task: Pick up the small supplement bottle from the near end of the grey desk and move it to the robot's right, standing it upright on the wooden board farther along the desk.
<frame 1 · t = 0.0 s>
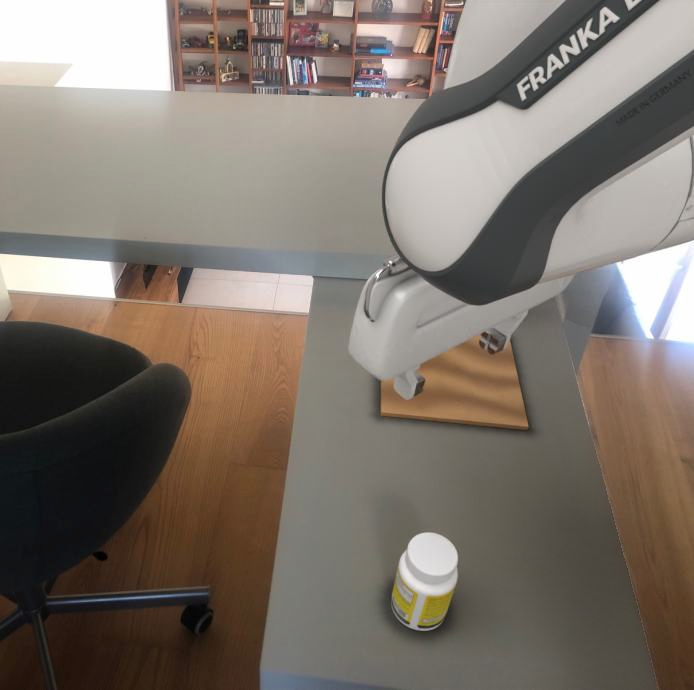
hand: (451, 369, 56), 20 cm above the table, tool pointing down, fingers open, 8 cm apart
milk carton: (446, 305, 94), on the table
supplement bottle: (417, 607, 61), on the table
wooden board: (447, 374, 83), on the table
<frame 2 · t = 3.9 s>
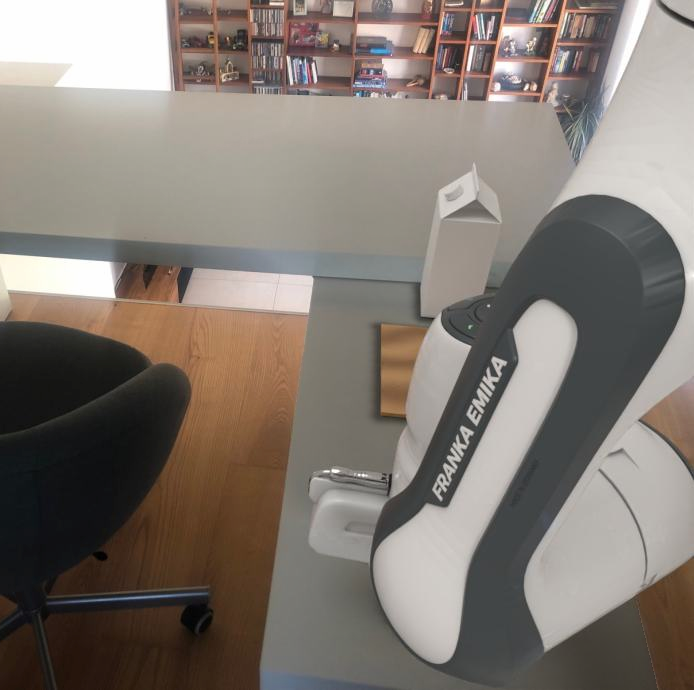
hand: (423, 588, 59), 3 cm above the table, tool pointing down, fingers closed on supplement bottle, 5 cm apart
supplement bottle: (417, 607, 61), on the table, touching gripper
everything else where it was.
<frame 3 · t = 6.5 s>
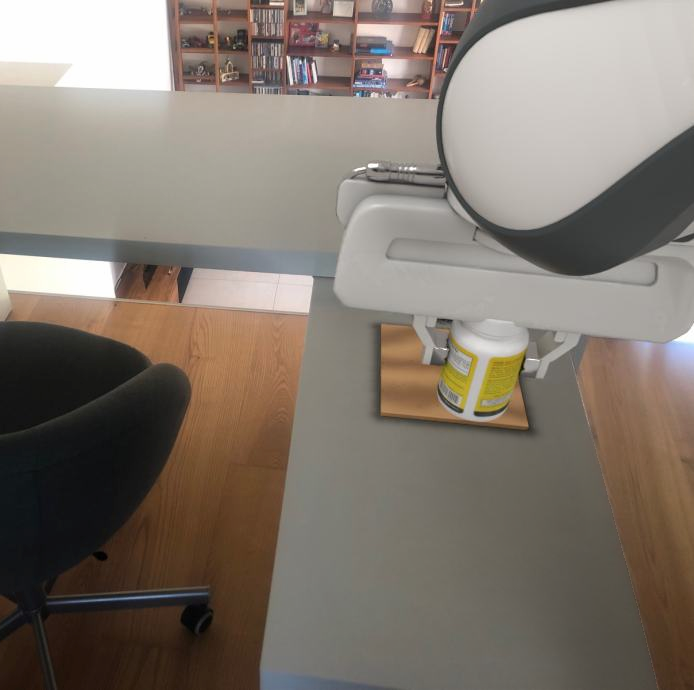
hand: (481, 365, 46), 26 cm above the table, tool pointing down, fingers closed on supplement bottle, 5 cm apart
supplement bottle: (470, 400, 48), point 23 cm above the table, touching gripper
everything else where it was.
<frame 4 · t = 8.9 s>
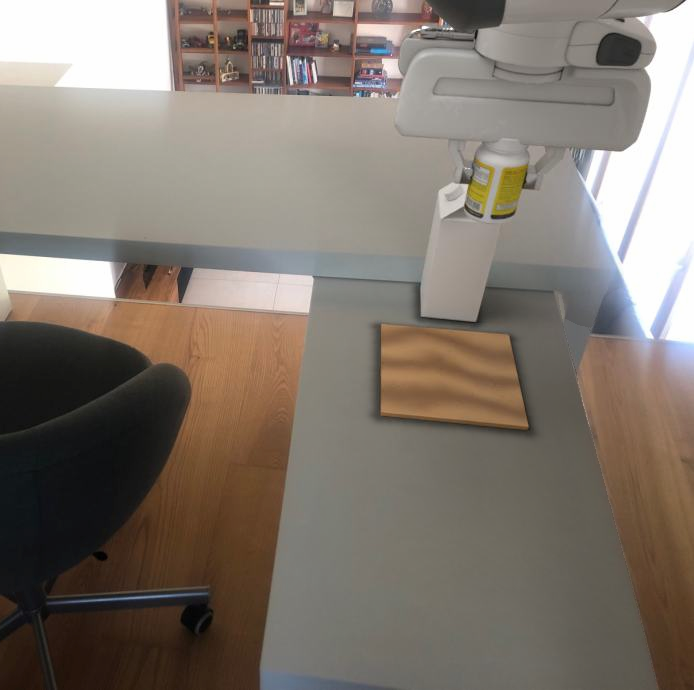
hand: (495, 184, 65), 26 cm above the table, tool pointing down, fingers closed on supplement bottle, 5 cm apart
supplement bottle: (487, 215, 67), point 23 cm above the table, touching gripper
everything else where it was.
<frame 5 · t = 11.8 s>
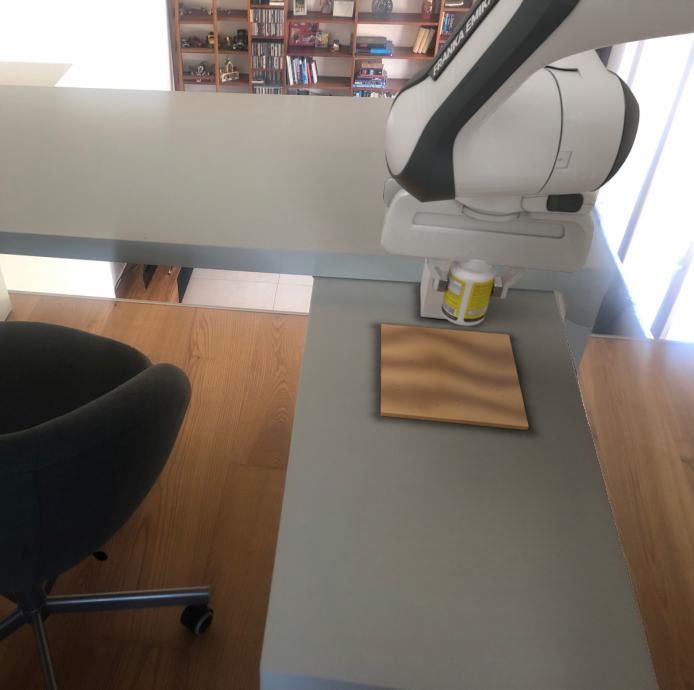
hand: (468, 291, 75), 12 cm above the table, tool pointing down, fingers closed on supplement bottle, 5 cm apart
supplement bottle: (461, 315, 78), point 9 cm above the table, touching gripper
everything else where it was.
when the fingers open (4 cm above the table, at t = 14.2 s): supplement bottle stays where it is, resting on wooden board.
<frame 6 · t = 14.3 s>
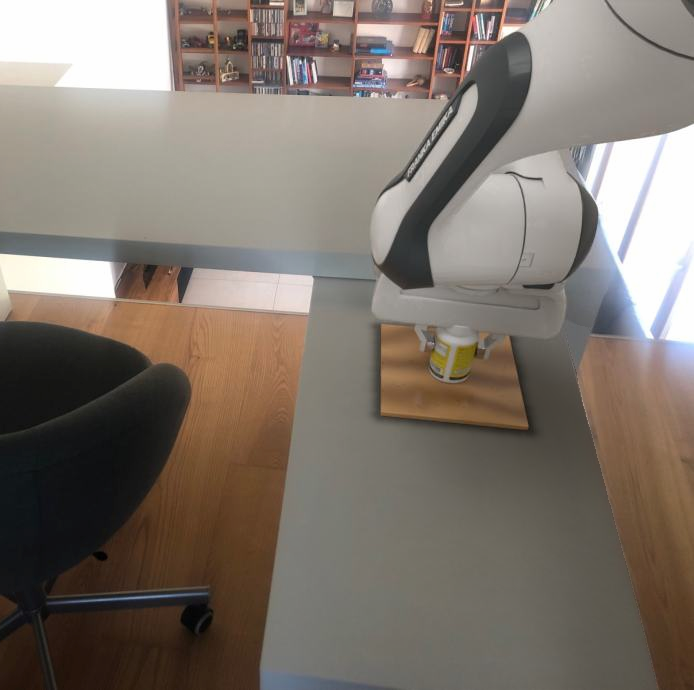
hand: (452, 352, 81), 4 cm above the table, tool pointing down, fingers open, 5 cm apart
supplement bottle: (448, 372, 83), resting on wooden board
everything else where it was.
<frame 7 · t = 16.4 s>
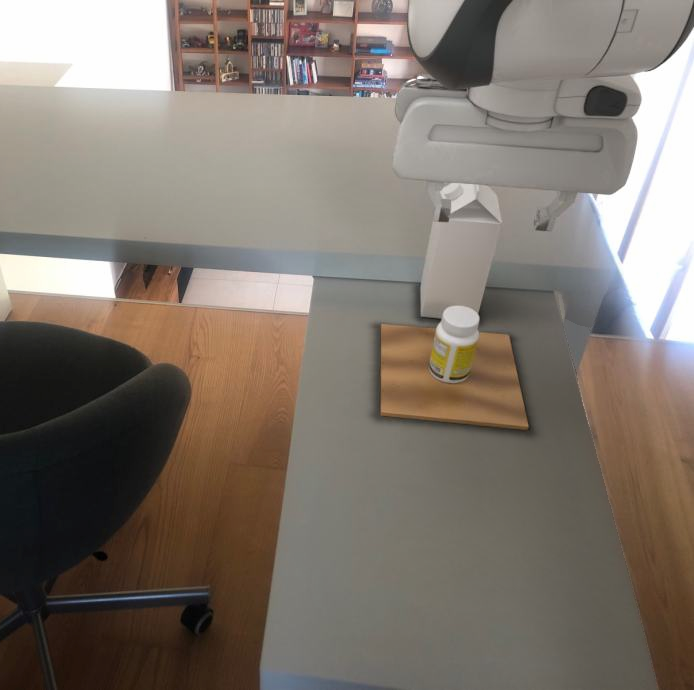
hand: (490, 223, 67), 22 cm above the table, tool pointing down, fingers open, 8 cm apart
nothing on the table moved.
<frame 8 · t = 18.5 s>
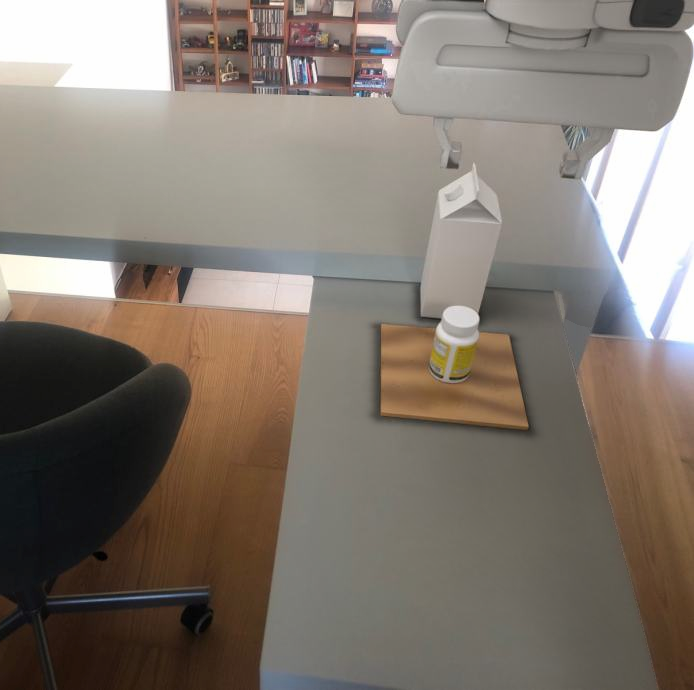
hand: (508, 170, 57), 31 cm above the table, tool pointing down, fingers open, 8 cm apart
nothing on the table moved.
at the end: supplement bottle inside the target area on the wooden board (0.1 cm from its centre), point 0.4 cm above the wooden board's base; supplement bottle tilted 0°; supplement bottle moved 31.2 cm from its start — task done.
